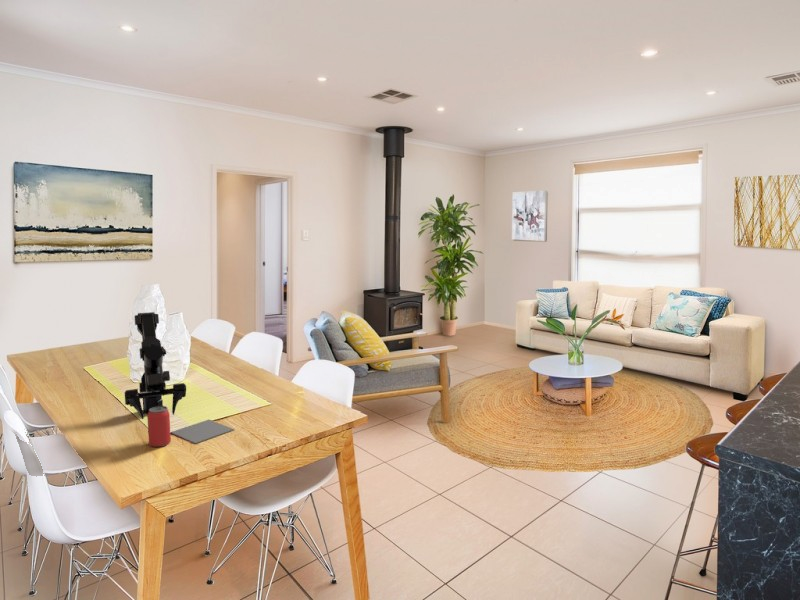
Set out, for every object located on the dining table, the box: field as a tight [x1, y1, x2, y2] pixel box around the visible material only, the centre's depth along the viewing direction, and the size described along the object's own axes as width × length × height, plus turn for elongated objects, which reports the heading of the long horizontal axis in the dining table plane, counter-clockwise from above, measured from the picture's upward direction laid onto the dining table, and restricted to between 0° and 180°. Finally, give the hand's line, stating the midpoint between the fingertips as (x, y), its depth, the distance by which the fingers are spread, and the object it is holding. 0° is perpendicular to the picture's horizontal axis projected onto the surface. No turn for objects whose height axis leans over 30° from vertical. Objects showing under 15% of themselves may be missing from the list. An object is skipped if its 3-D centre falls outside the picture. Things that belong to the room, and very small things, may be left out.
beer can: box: [146, 405, 172, 448], centre depth 170 cm, size 7×7×12 cm
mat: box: [170, 419, 235, 445], centre depth 181 cm, size 15×15×1 cm
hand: (158, 416), depth 170 cm, fingers open, 9 cm apart
